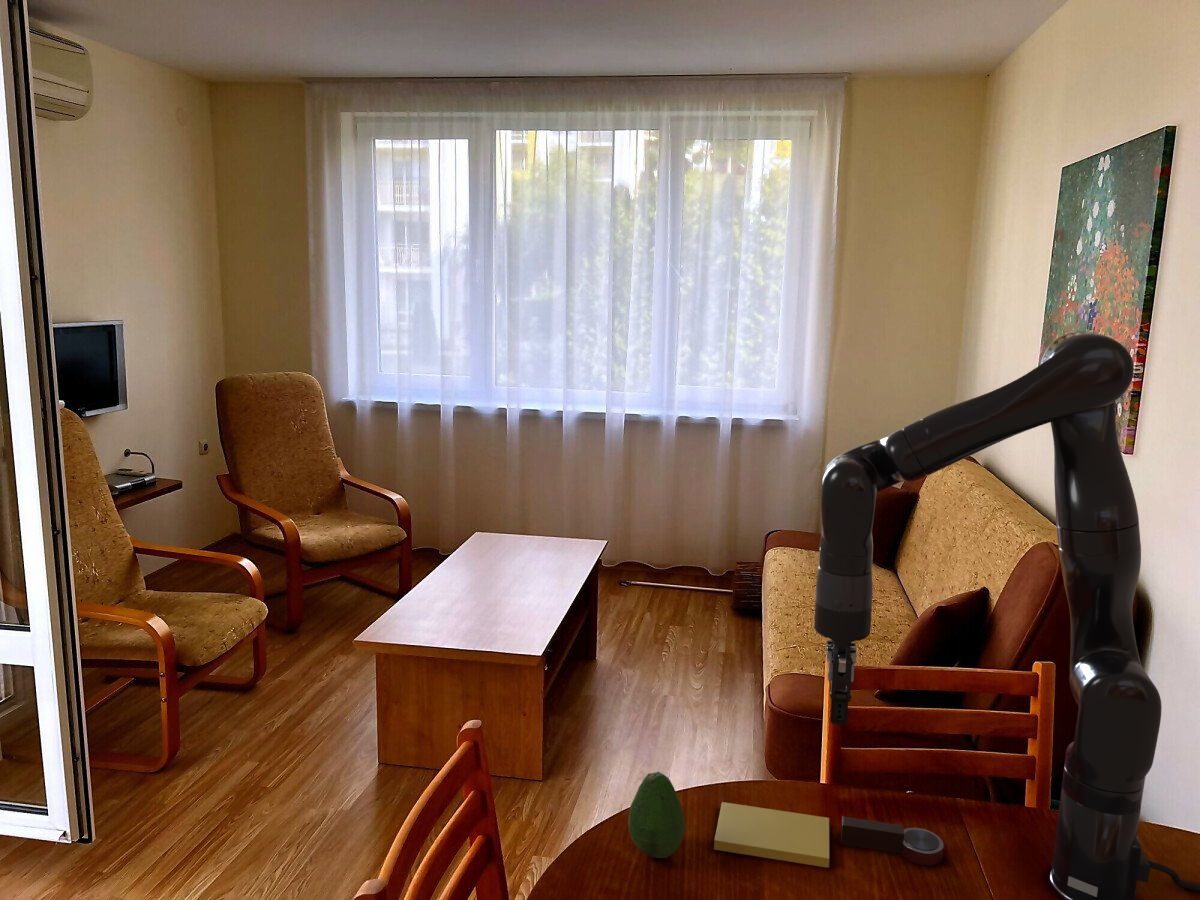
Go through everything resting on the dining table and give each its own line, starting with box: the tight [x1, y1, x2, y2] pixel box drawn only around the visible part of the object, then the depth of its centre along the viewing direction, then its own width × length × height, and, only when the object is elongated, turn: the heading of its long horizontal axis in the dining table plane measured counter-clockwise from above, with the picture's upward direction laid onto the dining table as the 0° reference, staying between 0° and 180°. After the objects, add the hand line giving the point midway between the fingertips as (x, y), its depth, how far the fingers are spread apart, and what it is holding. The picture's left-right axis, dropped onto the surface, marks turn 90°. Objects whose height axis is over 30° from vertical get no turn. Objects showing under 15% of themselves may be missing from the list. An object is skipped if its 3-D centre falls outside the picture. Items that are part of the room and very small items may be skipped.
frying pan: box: [840, 816, 945, 867], centre depth 131 cm, size 14×6×3 cm, turn 76°
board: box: [713, 801, 830, 869], centre depth 133 cm, size 16×10×2 cm, turn 76°
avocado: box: [627, 771, 686, 859], centre depth 128 cm, size 8×8×12 cm
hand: (838, 709), depth 128 cm, fingers open, 8 cm apart
